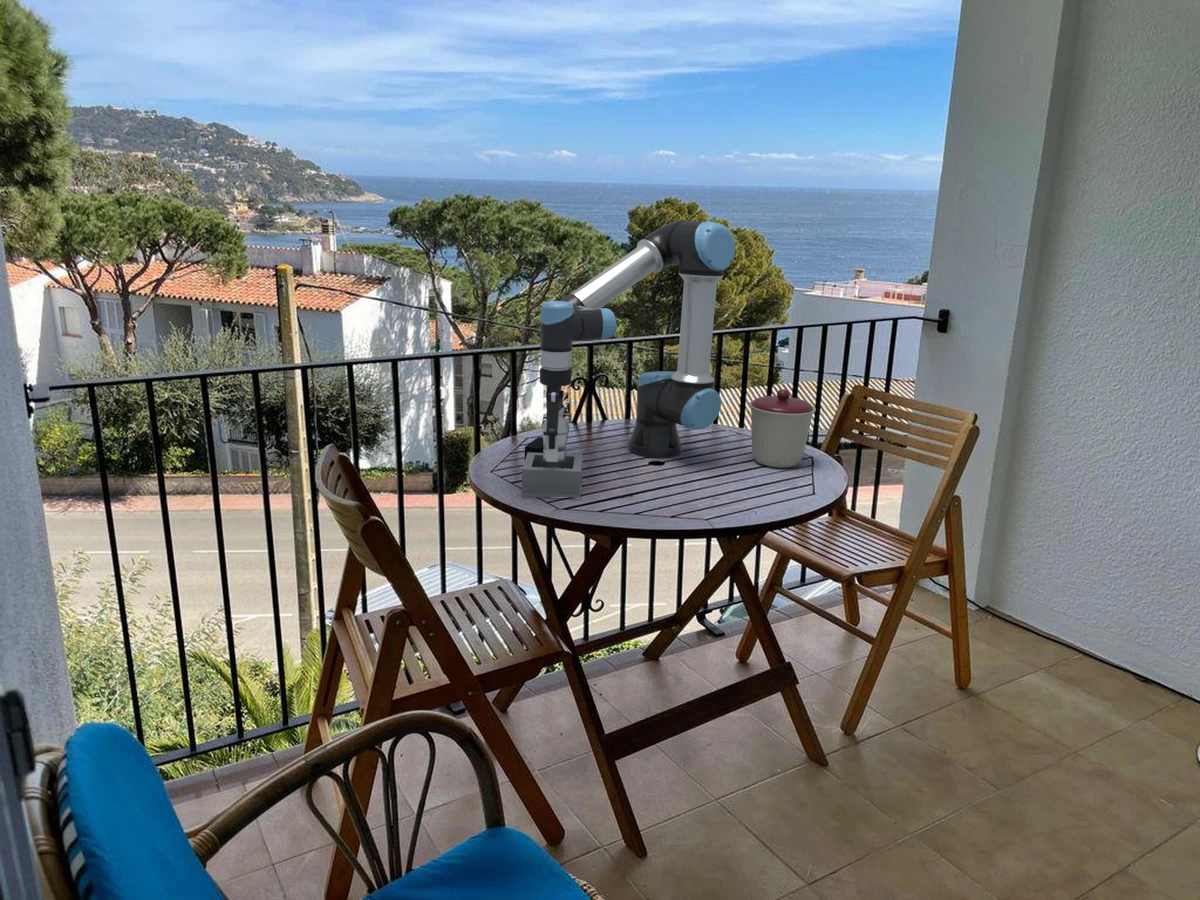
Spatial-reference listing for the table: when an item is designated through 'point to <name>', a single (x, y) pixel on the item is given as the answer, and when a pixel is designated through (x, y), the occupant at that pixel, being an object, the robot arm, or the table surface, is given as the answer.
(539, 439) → the digital camera
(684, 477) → the table surface
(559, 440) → the plastic bottle
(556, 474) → the well
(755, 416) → the canister
